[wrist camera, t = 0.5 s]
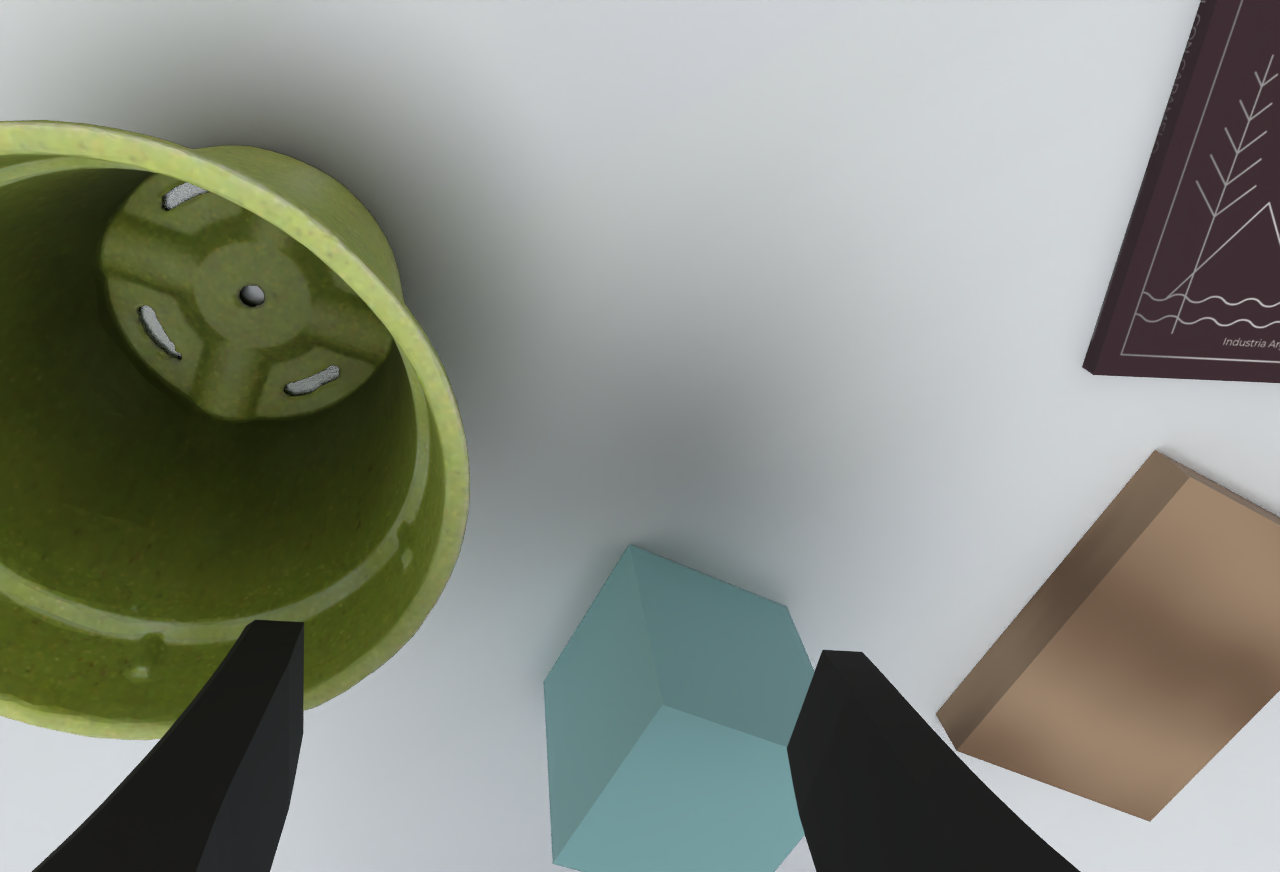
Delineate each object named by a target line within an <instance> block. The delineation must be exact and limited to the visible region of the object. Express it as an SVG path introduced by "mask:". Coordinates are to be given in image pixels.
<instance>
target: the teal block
mask: <svg viewBox="0 0 1280 872" xmlns="http://www.w3.org/2000/svg"><path fill="white" fill-rule="evenodd" d="M813 675H814V670H813V667H812V665H811V662H810V660H809V658H808V655H807V653H806V651H805V648H804V646H803V644H802V641H801V639H800V637H799V634H798V632H797V630H796V627H795V625H794V623H793V620H792V618H791V616H790V613H789V611H788V608H787V607H786V606H783V605H781V604H778V603H776V602H773V601H771V600H768V599H766V598H763V597H761V596H758V595H756V594H753V593H751V592H748V591H746V590H743V589H741V588H738V587H736V586H733V585H731V584H728V583H726V582H723V581H721V580H718V579H716V578H713V577H711V576H708V575H706V574H703V573H701V572H698V571H696V570H693V569H691V568H688V567H686V566H683V565H681V564H678V563H676V562H673V561H671V560H668V559H666V558H663V557H661V556H658V555H656V554H653V553H651V552H648V551H646V550H643V549H641V548H638V547H635V546H633V545H630V544H629V546H628V547H627V549H626V550H625V552H624V554H623V555H622V557H621V558H620V560H619V562H618V563H617V565H616V567H615V568H614V570H613V571H612V573H611V575H610V576H609V578H608V579H607V581H606V583H605V584H604V586H603V587H602V589H601V591H600V592H599V594H598V595H597V597H596V599H595V600H594V602H593V604H592V605H591V607H590V608H589V610H588V612H587V613H586V615H585V616H584V618H583V620H582V621H581V623H580V624H579V626H578V628H577V629H576V631H575V632H574V634H573V636H572V637H571V639H570V641H569V642H568V644H567V645H566V647H565V649H564V650H563V652H562V653H561V655H560V657H559V658H558V660H557V661H556V663H555V665H554V666H553V668H552V669H551V671H550V673H549V674H548V676H547V678H546V679H545V681H544V698H545V718H546V738H547V758H548V778H549V798H550V817H551V837H552V857H553V864H556V865H560V866H563V867H567V868H571V869H575V870H578V871H582V872H774V871H775V870H776V869H777V868H778V867H779V865H780V864H781V863H782V862H783V860H784V859H785V858H786V857H787V856H788V854H789V853H790V852H791V851H792V849H793V848H794V847H795V846H796V845H797V843H798V842H799V841H800V840H801V838H802V837H803V836H804V835H805V833H804V830H803V827H802V824H801V820H800V817H799V812H798V807H797V802H796V798H795V793H794V788H793V782H792V776H791V771H790V765H789V759H788V753H787V746H788V743H789V740H790V738H791V735H792V732H793V730H794V727H795V724H796V721H797V719H798V716H799V713H800V711H801V708H802V705H803V702H804V700H805V697H806V694H807V691H808V689H809V686H810V683H811V681H812V678H813Z"/></svg>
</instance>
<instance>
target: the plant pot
mask: <svg viewBox="0 0 1280 872" xmlns="http://www.w3.org/2000/svg"><path fill="white" fill-rule="evenodd" d="M185 182H187V183H190V184H192V185H195V186H197V187H200V188H202V189H205V190H207V191H209V192H206V193H204V194H201V195H198V196H196V197H193V198H191V199H189V200H187V201H185V202H183V203H180V204H179V205H178V206H176V207H175V208H173V209H172V210H169V211H166V210H164V209H163V208H162V204H163V200H162V197H163V195H165V194H166V193H168V192H169V191H170V190H172V189H173V188H174V187H176V186H179V185H182V184H184V183H185ZM248 285H251V286H258V287H259V288H260V289H261V290H262V291H263V293H264V302H263V303H262V304H261V305H257V306H256V307H250V306H247V305H245V304H244V303H243V302H242V301H241V299H240V297H239V293H240V291H241V289H242V288H243V287H245V286H248ZM144 305H147V306H149V307H151V308H152V309H153V311H154V312H155V315H156V318H157V319H158V321H159V322H160V324H161V326H162V328H163V330H164V331H165V333H166V335H167V336H168V338H169V340H170V341H171V342H173V344H174V345H175V351H177V352H179V353H180V354H181V355H182V359H181V360H178V358H175V357H172V356H170V355H168V354H167V353H166V352H165V351H163V350H162V349H161V348H160V347H159V346H157V345H156V344H155V343H154V342H153V340H152V339H151V338H150V337H149V335H148V334H147V333H146V331H145V329H144V327H143V325H142V323H141V321H140V319H139V308H140V307H142V306H144ZM331 365H334V366H337V367H339V368H340V369H339V376H338V378H337V379H335V380H333V381H331V382H328V383H327V384H325V385H322V386H320V387H318V388H317V389H316V390H315V391H314V392H312V393H310V394H306V395H301V396H290V395H288V394H286V393H285V392H284V387H285V385H286V384H289V383H292V382H294V383H295V382H296V381H299V380H301V379H305V378H308V377H311V376H313V375H314V374H317V373H319V372H321V371H324V370H325V369H327V368H328V367H329V366H331ZM469 485H470V469H469V461H468V453H467V445H466V438H465V433H464V428H463V424H462V420H461V416H460V412H459V408H458V404H457V401H456V398H455V396H454V393H453V390H452V387H451V384H450V382H449V379H448V376H447V374H446V371H445V369H444V366H443V364H442V363H441V361H440V359H439V357H438V355H437V353H436V351H435V350H434V348H433V346H432V344H431V342H430V340H429V339H428V337H427V335H426V333H425V332H424V330H423V329H422V327H421V326H420V325H419V323H418V322H417V320H416V319H415V317H414V316H413V315H412V313H411V312H410V310H409V309H408V307H407V306H406V305H405V303H404V298H403V292H402V287H401V282H400V276H399V271H398V268H397V264H396V261H395V258H394V254H393V252H392V250H391V247H390V245H389V243H388V241H387V239H386V237H385V235H384V233H383V232H382V230H381V229H380V227H379V225H378V224H377V222H376V221H375V219H374V218H373V217H372V215H371V214H370V213H369V211H368V210H367V209H366V208H365V207H364V206H363V205H362V203H361V202H360V201H359V200H358V199H357V198H356V197H355V196H354V195H353V194H352V193H351V192H350V191H349V190H348V189H347V188H345V187H344V186H343V185H342V184H341V183H339V182H338V181H336V180H335V179H334V178H332V177H331V176H329V175H327V174H325V173H324V172H322V171H320V170H318V169H316V168H314V167H312V166H310V165H308V164H306V163H304V162H301V161H299V160H297V159H294V158H291V157H289V156H286V155H283V154H280V153H276V152H273V151H269V150H265V149H261V148H257V147H251V146H237V145H223V146H214V147H206V148H198V149H190V148H187V147H184V146H181V145H178V144H175V143H172V142H169V141H166V140H162V139H159V138H155V137H152V136H148V135H143V134H139V133H134V132H130V131H125V130H121V129H116V128H110V127H103V126H97V125H91V124H84V123H72V122H61V121H49V120H31V121H0V716H3V717H6V718H9V719H13V720H17V721H21V722H24V723H26V724H29V725H34V726H38V727H43V728H47V729H52V730H56V731H61V732H67V733H72V734H76V735H81V736H87V737H94V738H112V739H122V740H151V739H160V738H162V737H163V736H164V735H165V733H166V732H167V731H168V730H169V729H170V727H171V726H172V725H173V724H174V722H175V721H176V720H177V719H178V718H179V716H180V715H181V714H182V713H183V712H184V710H185V709H186V708H187V707H188V706H189V704H190V703H191V702H192V701H193V699H194V698H195V697H196V696H197V694H198V693H199V692H200V690H201V689H202V688H203V686H204V685H205V684H206V682H207V681H208V680H209V679H210V677H211V676H212V675H213V673H214V672H215V671H216V669H217V668H218V666H219V665H220V664H221V662H222V661H223V660H224V658H225V657H226V655H227V654H228V652H229V651H230V650H231V648H232V647H233V645H234V644H235V642H236V641H237V639H238V638H239V636H240V635H241V633H242V631H243V630H244V628H245V627H246V626H247V625H248V624H249V623H251V622H252V621H254V620H273V621H292V622H304V699H303V711H304V710H308V709H312V708H314V707H317V706H319V705H321V704H323V703H325V702H327V701H328V700H330V699H332V698H334V697H336V696H338V695H340V694H341V693H343V692H345V691H347V690H348V689H350V688H351V687H352V686H354V685H355V684H357V683H358V682H360V681H361V680H362V679H364V678H365V677H366V676H368V675H369V674H370V673H373V672H374V671H375V670H377V669H378V668H379V667H381V666H382V665H383V664H384V663H386V662H387V661H388V660H389V659H390V658H391V657H393V656H394V655H395V654H396V653H397V652H398V651H399V650H400V649H401V648H402V647H403V646H404V645H405V644H406V643H407V642H408V641H409V640H410V639H411V638H412V637H413V636H414V634H415V633H416V632H417V630H418V629H419V628H420V626H421V625H422V623H423V622H424V620H425V619H426V617H427V616H428V614H429V613H430V611H431V610H432V608H433V607H434V605H435V604H436V602H437V601H438V599H439V597H440V595H441V593H442V592H443V590H444V588H445V586H446V584H447V582H448V580H449V578H450V576H451V573H452V571H453V568H454V566H455V563H456V561H457V559H458V556H459V553H460V550H461V545H462V542H463V538H464V534H465V529H466V523H467V516H468V509H469V500H470V489H469Z"/></svg>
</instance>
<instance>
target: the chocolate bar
mask: <svg viewBox="0 0 1280 872" xmlns="http://www.w3.org/2000/svg"><path fill="white" fill-rule="evenodd" d="M1082 367H1083V368H1084V369H1086V370H1087V371H1089V372H1090V373H1091V374H1093V375H1108V376H1131V377H1154V378H1176V379H1199V380H1222V381H1244V382H1267V383H1280V0H1201V2H1200V5H1199V9H1198V12H1197V15H1196V18H1195V21H1194V24H1193V27H1192V30H1191V33H1190V36H1189V39H1188V42H1187V46H1186V49H1185V52H1184V55H1183V58H1182V61H1181V64H1180V67H1179V70H1178V73H1177V76H1176V79H1175V83H1174V86H1173V89H1172V92H1171V95H1170V98H1169V101H1168V104H1167V107H1166V110H1165V113H1164V116H1163V120H1162V123H1161V126H1160V129H1159V132H1158V135H1157V138H1156V141H1155V144H1154V147H1153V150H1152V153H1151V157H1150V160H1149V163H1148V166H1147V169H1146V172H1145V175H1144V178H1143V181H1142V184H1141V187H1140V191H1139V194H1138V197H1137V200H1136V203H1135V206H1134V209H1133V212H1132V215H1131V218H1130V221H1129V224H1128V228H1127V231H1126V234H1125V237H1124V240H1123V243H1122V246H1121V249H1120V252H1119V255H1118V258H1117V261H1116V265H1115V268H1114V271H1113V274H1112V277H1111V280H1110V283H1109V286H1108V289H1107V292H1106V295H1105V298H1104V302H1103V305H1102V308H1101V311H1100V314H1099V317H1098V320H1097V323H1096V326H1095V329H1094V332H1093V335H1092V339H1091V342H1090V345H1089V348H1088V351H1087V354H1086V357H1085V360H1084V363H1083V366H1082Z"/></svg>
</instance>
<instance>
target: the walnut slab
mask: <svg viewBox="0 0 1280 872" xmlns="http://www.w3.org/2000/svg"><path fill="white" fill-rule="evenodd" d="M1279 691H1280V518H1279V517H1278V516H1276V515H1274V514H1272V513H1270V512H1268V511H1267V510H1265V509H1263V508H1261V507H1259V506H1257V505H1255V504H1254V503H1252V502H1250V501H1248V500H1246V499H1244V498H1243V497H1241V496H1239V495H1237V494H1235V493H1233V492H1232V491H1230V490H1228V489H1226V488H1224V487H1222V486H1220V485H1219V484H1217V483H1215V482H1213V481H1211V480H1209V479H1208V478H1206V477H1204V476H1202V475H1200V474H1198V473H1196V472H1195V471H1193V470H1191V469H1189V468H1187V467H1185V466H1184V465H1182V464H1180V463H1178V462H1176V461H1174V460H1172V459H1171V458H1169V457H1167V456H1165V455H1163V454H1161V453H1160V452H1158V451H1156V450H1155V451H1154V452H1153V453H1152V454H1151V455H1150V457H1149V458H1148V459H1147V460H1146V461H1145V463H1144V464H1143V465H1142V466H1141V467H1140V469H1139V470H1138V471H1137V472H1136V473H1135V475H1134V476H1133V477H1132V478H1131V479H1130V481H1129V482H1128V483H1127V484H1126V485H1125V487H1124V488H1123V489H1122V490H1121V491H1120V493H1119V494H1118V495H1117V496H1116V497H1115V499H1114V500H1113V501H1112V502H1111V504H1110V505H1109V506H1108V507H1107V508H1106V510H1105V511H1104V512H1103V513H1102V514H1101V516H1100V517H1099V518H1098V519H1097V520H1096V522H1095V523H1094V524H1093V525H1092V526H1091V528H1090V529H1089V530H1088V531H1087V532H1086V534H1085V535H1084V536H1083V537H1082V538H1081V540H1080V541H1079V542H1078V543H1077V544H1076V546H1075V547H1074V548H1073V549H1072V550H1071V552H1070V553H1069V554H1068V555H1067V557H1066V558H1065V559H1064V560H1063V561H1062V563H1061V564H1060V565H1059V566H1058V567H1057V569H1056V570H1055V571H1054V572H1053V573H1052V575H1051V576H1050V577H1049V578H1048V579H1047V581H1046V582H1045V583H1044V584H1043V585H1042V587H1041V588H1040V589H1039V590H1038V591H1037V593H1036V594H1035V595H1034V596H1033V597H1032V599H1031V600H1030V601H1029V602H1028V603H1027V605H1026V606H1025V607H1024V608H1023V609H1022V611H1021V612H1020V613H1019V614H1018V616H1017V617H1016V618H1015V619H1014V620H1013V622H1012V623H1011V624H1010V625H1009V626H1008V628H1007V629H1006V630H1005V631H1004V632H1003V634H1002V635H1001V636H1000V637H999V638H998V640H997V641H996V642H995V643H994V644H993V646H992V647H991V648H990V649H989V650H988V652H987V653H986V654H985V655H984V656H983V658H982V659H981V660H980V661H979V662H978V664H977V665H976V666H975V667H974V668H973V670H972V671H971V672H970V673H969V675H968V676H967V677H966V678H965V679H964V681H963V682H962V683H961V684H960V685H959V687H958V688H957V689H956V690H955V691H954V693H953V694H952V695H951V696H950V697H949V699H948V700H947V701H946V702H945V703H944V705H943V706H942V707H941V708H940V709H939V711H938V712H937V713H936V715H937V717H938V719H939V721H940V722H941V724H942V726H943V728H944V729H945V731H946V733H947V735H948V737H949V738H950V740H951V742H952V744H953V745H954V747H955V749H956V751H959V752H961V753H964V754H967V755H970V756H972V757H975V758H978V759H980V760H983V761H986V762H989V763H991V764H994V765H997V766H1000V767H1002V768H1005V769H1008V770H1010V771H1013V772H1016V773H1019V774H1021V775H1024V776H1027V777H1030V778H1032V779H1035V780H1038V781H1041V782H1043V783H1046V784H1049V785H1051V786H1054V787H1057V788H1060V789H1062V790H1065V791H1068V792H1071V793H1073V794H1076V795H1079V796H1081V797H1084V798H1087V799H1090V800H1092V801H1095V802H1098V803H1101V804H1103V805H1106V806H1109V807H1111V808H1114V809H1117V810H1120V811H1122V812H1125V813H1128V814H1131V815H1133V816H1136V817H1139V818H1142V819H1144V820H1147V821H1151V820H1152V819H1153V818H1154V817H1155V816H1156V815H1157V814H1158V813H1159V812H1160V811H1161V810H1162V809H1163V808H1164V807H1165V806H1166V805H1167V804H1168V803H1169V802H1170V801H1171V800H1172V799H1173V798H1174V797H1175V796H1176V795H1177V794H1178V793H1179V792H1180V791H1181V790H1182V789H1183V788H1184V787H1185V786H1186V785H1187V784H1188V783H1189V782H1190V781H1191V779H1192V778H1193V777H1194V776H1195V775H1196V774H1197V773H1198V772H1199V771H1200V770H1201V769H1202V768H1203V767H1204V766H1205V765H1206V764H1207V763H1208V762H1209V761H1210V760H1211V759H1212V758H1213V757H1214V756H1215V755H1216V754H1217V753H1218V752H1219V751H1220V750H1221V749H1222V748H1223V747H1224V746H1225V745H1226V744H1227V743H1228V742H1229V741H1230V740H1231V739H1232V738H1233V737H1234V736H1235V735H1236V734H1237V733H1238V732H1239V731H1240V730H1241V729H1242V728H1243V727H1244V726H1245V725H1246V724H1247V723H1248V722H1249V721H1250V720H1251V719H1252V718H1253V717H1254V716H1255V715H1256V714H1257V713H1258V712H1259V711H1260V710H1261V709H1262V708H1263V707H1264V706H1265V705H1266V704H1267V703H1268V702H1269V701H1270V700H1271V699H1272V698H1273V697H1274V696H1275V695H1276V694H1277V693H1278V692H1279Z"/></svg>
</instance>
